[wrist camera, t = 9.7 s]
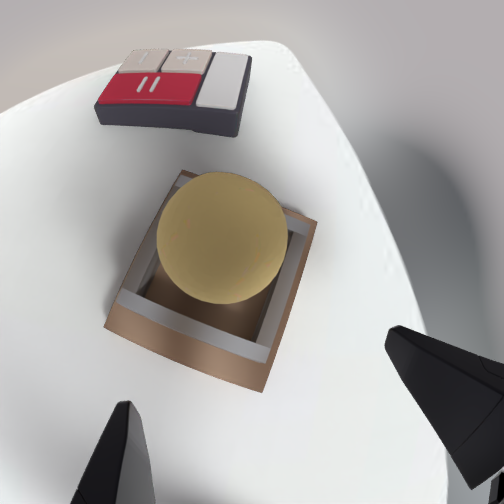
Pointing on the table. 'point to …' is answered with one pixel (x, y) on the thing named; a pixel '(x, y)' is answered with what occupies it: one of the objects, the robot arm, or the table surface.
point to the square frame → (210, 310)
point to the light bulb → (222, 238)
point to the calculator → (178, 91)
